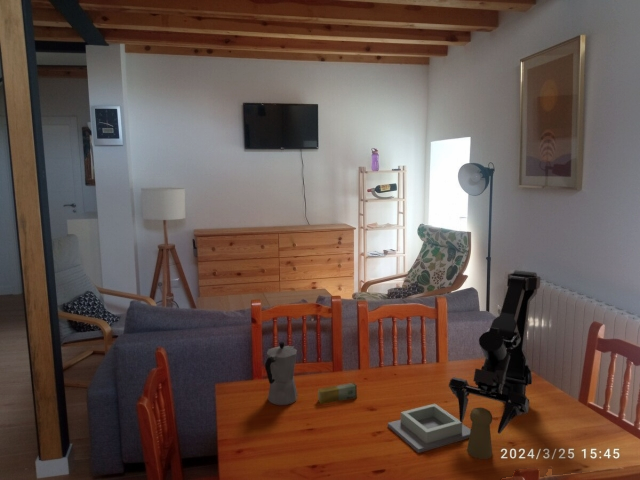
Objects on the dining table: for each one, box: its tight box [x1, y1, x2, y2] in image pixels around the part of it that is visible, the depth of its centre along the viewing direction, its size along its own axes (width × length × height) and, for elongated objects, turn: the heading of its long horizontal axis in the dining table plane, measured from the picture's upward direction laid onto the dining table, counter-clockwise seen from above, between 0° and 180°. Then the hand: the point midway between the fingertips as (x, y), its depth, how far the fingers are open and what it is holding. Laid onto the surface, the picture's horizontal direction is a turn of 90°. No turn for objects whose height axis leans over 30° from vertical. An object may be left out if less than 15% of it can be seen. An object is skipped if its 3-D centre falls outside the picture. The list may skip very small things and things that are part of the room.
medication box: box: [317, 382, 358, 405], centre depth 150 cm, size 12×3×4 cm, turn 111°
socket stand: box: [387, 403, 471, 454], centre depth 131 cm, size 18×14×4 cm
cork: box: [466, 407, 493, 460], centre depth 121 cm, size 6×6×11 cm
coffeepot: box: [264, 341, 298, 406], centre depth 148 cm, size 15×9×18 cm, turn 153°
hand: (479, 427), depth 120 cm, fingers open, 9 cm apart
